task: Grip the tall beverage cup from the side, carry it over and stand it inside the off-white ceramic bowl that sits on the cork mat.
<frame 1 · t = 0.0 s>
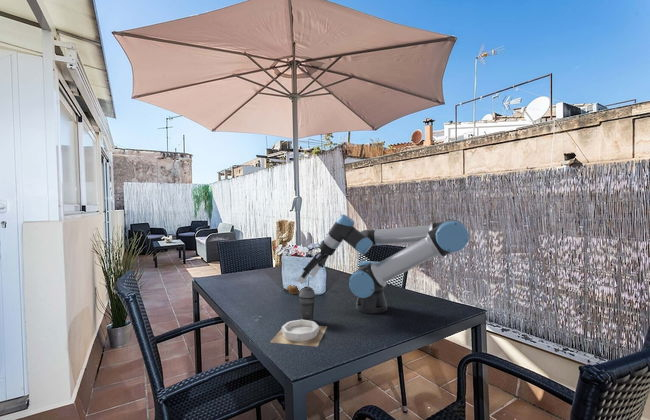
hand: (306, 278, 149), 15 cm above the table, tool tilted 35°, fingers open, 13 cm apart
beverage cup: (307, 322, 134), on the table
bowl: (300, 334, 121), resting on cork mat
bread roll: (295, 292, 180), on the table
cork mat: (300, 335, 121), on the table
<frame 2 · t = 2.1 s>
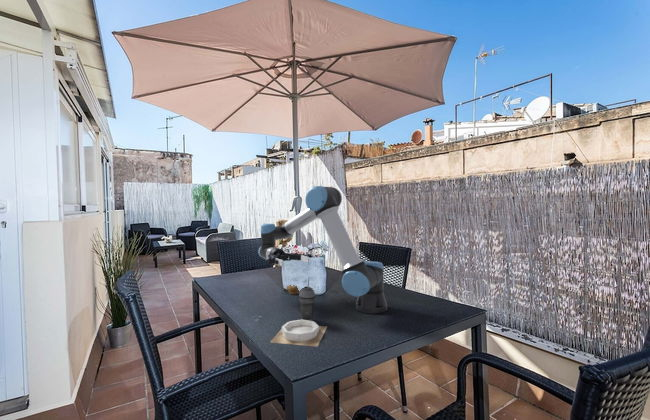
hand: (295, 261, 141), 25 cm above the table, tool horizontal, fingers open, 13 cm apart
nothing on the table moved.
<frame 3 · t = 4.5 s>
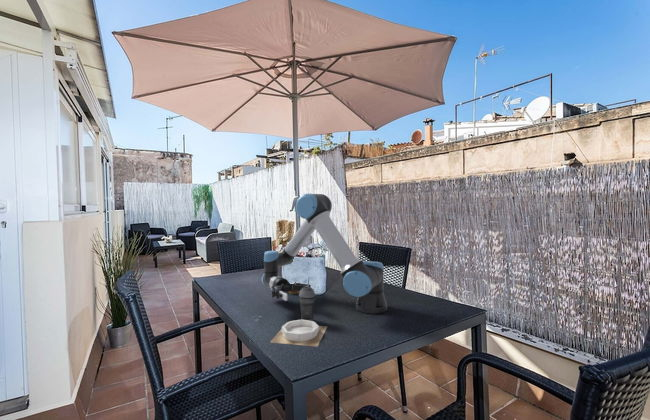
hand: (300, 294, 138), 11 cm above the table, tool horizontal, fingers open, 13 cm apart
nothing on the table moved.
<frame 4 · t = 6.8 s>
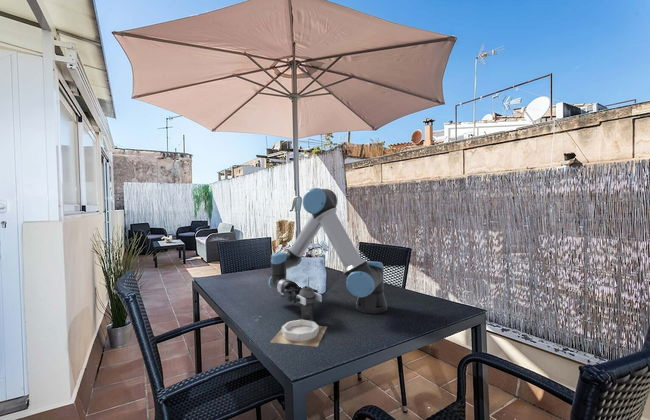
hand: (313, 300, 130), 11 cm above the table, tool horizontal, fingers closed on beverage cup, 7 cm apart
beverage cup: (307, 322, 134), on the table, touching gripper
everything else where it was.
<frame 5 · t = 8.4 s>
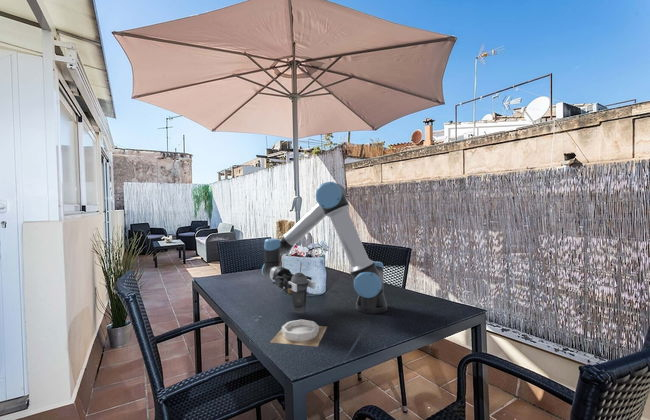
hand: (305, 286, 121), 19 cm above the table, tool horizontal, fingers closed on beverage cup, 7 cm apart
beverage cup: (299, 311, 125), point 8 cm above the table, touching gripper
everything else where it was.
when the fingers open (14 cm above the table, at t = 10.2 s): beverage cup drops 1 cm, resting on bowl.
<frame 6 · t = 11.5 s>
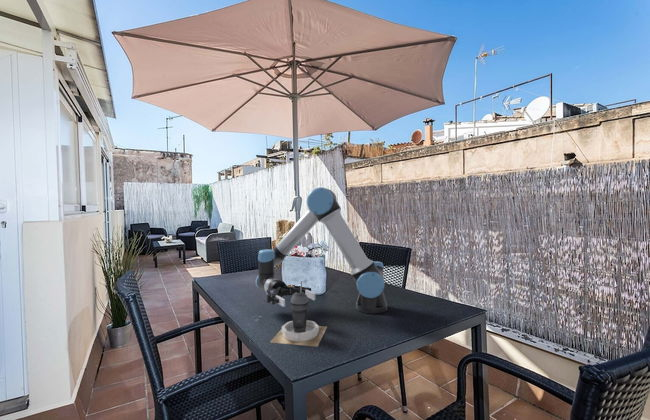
hand: (299, 299, 120), 14 cm above the table, tool horizontal, fingers open, 13 cm apart
beverage cup: (299, 332, 121), point 1 cm above the table, touching bowl
everything else where it was.
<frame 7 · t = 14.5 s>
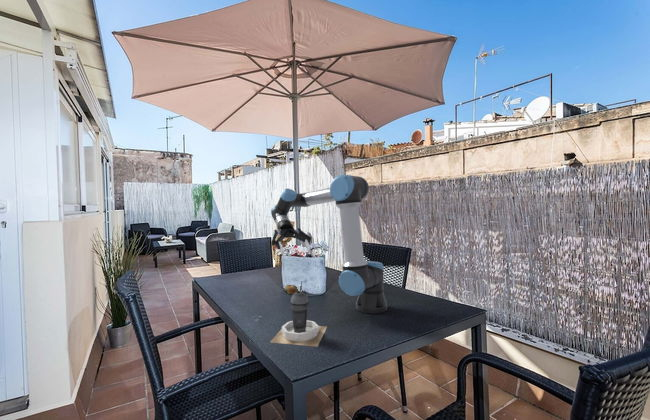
hand: (296, 251, 146), 29 cm above the table, tool tilted 60°, fingers open, 13 cm apart
nothing on the table moved.
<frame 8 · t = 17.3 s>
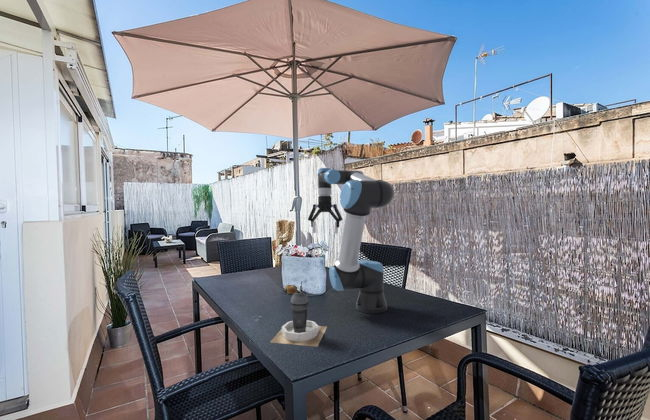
hand: (325, 233, 175), 35 cm above the table, tool pointing down, fingers open, 13 cm apart
at the end: beverage cup inside the target area on the bowl (0.2 cm from its centre), point 0.8 cm above the bowl's base; beverage cup tilted 0°; the gripper is holding nothing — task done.
